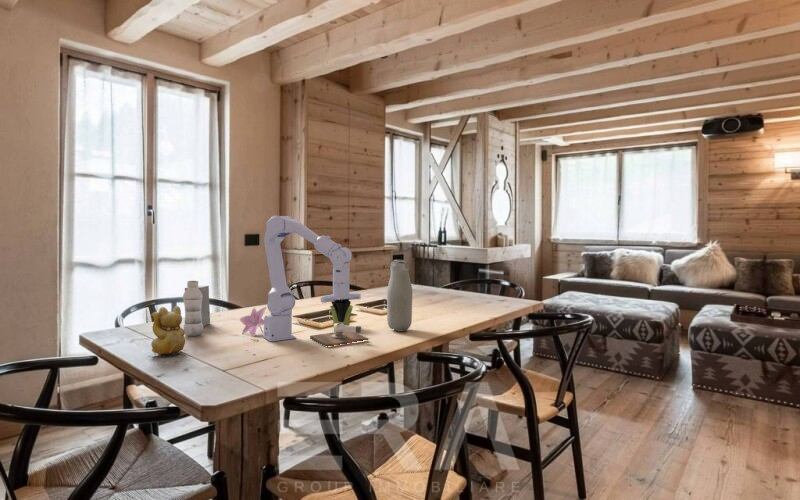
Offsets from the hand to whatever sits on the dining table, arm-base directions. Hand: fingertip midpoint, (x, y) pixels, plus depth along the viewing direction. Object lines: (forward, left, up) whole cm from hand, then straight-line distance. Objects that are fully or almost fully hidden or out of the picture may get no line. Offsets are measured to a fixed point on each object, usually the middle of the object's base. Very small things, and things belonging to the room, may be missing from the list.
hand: (340, 321), depth 162 cm
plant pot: (+11, +21, -8) cm, 25 cm away
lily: (-21, +29, -8) cm, 37 cm away
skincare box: (-36, +54, -8) cm, 65 cm away
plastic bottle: (-41, +37, -8) cm, 55 cm away
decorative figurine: (-52, +16, -8) cm, 55 cm away
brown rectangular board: (+1, +4, -8) cm, 9 cm away
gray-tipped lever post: (+4, +2, -4) cm, 6 cm away
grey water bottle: (+28, +5, -8) cm, 30 cm away
